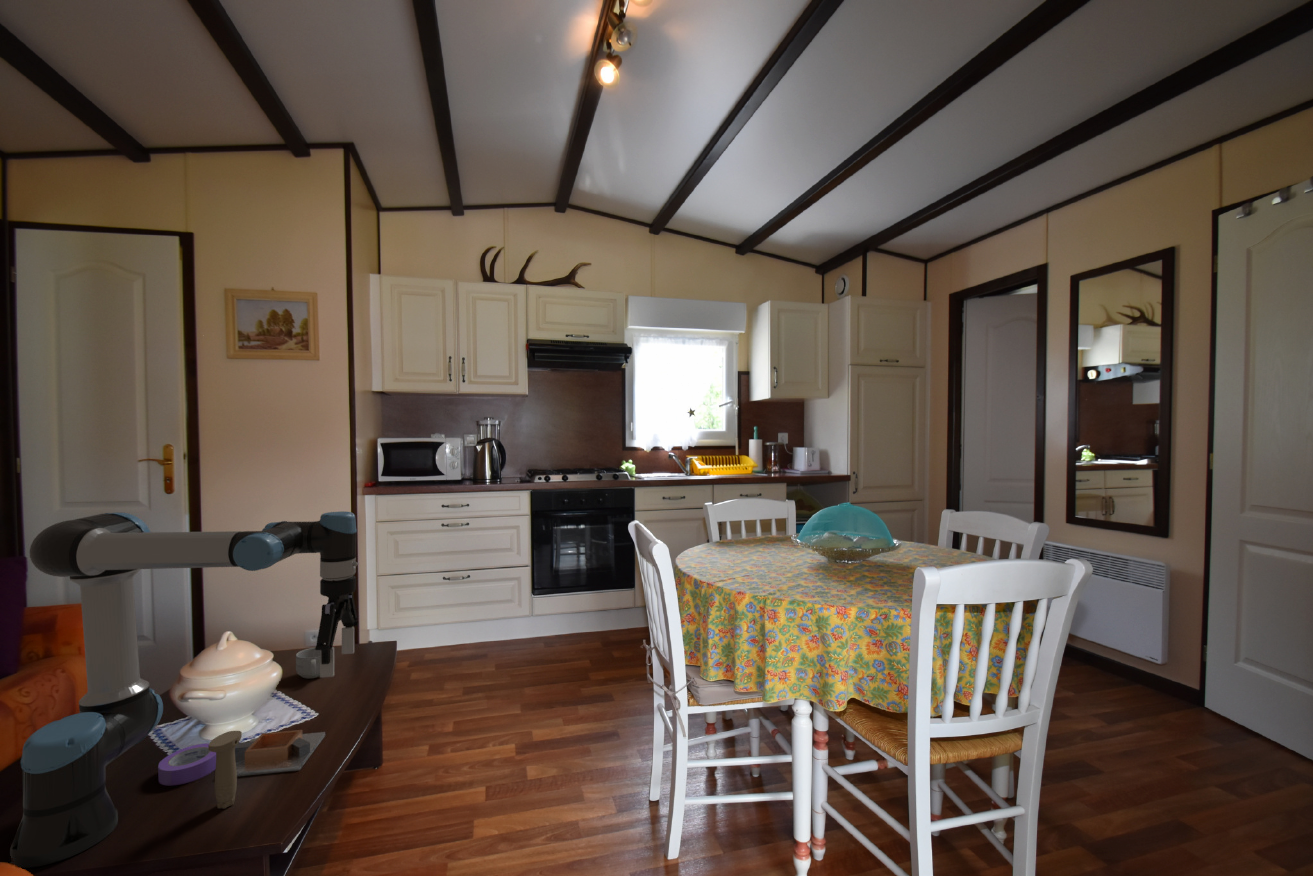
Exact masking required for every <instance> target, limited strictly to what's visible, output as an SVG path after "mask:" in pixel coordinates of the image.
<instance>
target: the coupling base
mask: <svg viewBox="0 0 1313 876" xmlns="http://www.w3.org/2000/svg"><path fill="white" fill-rule="evenodd" d="M325 737H326V731H321V732H311V733H309V732H308V733H303V729H297V730H296V729H295V730H285V731H275V732H274V731H273V732H263V733H261V734H260V735H259V736H258V737H256V738H255V737H254V738H251V739H250V740H249V741H243V742H239V743H238V744H237V745H236V746H235V761H236V772H237V778H238V777H248V776H249V777H250V776H256V775H257V776H259V775H267V774H276V773H287V772H296V771H301V769H302V768H303V766H304V765H305V763H306V762H307V761H308V759H310V757H311V756H312V754H313V753H314V751H315V750H316V749H317V748H318V746H319V744H321V742H322V741H323V739H324V738H325Z"/></svg>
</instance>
